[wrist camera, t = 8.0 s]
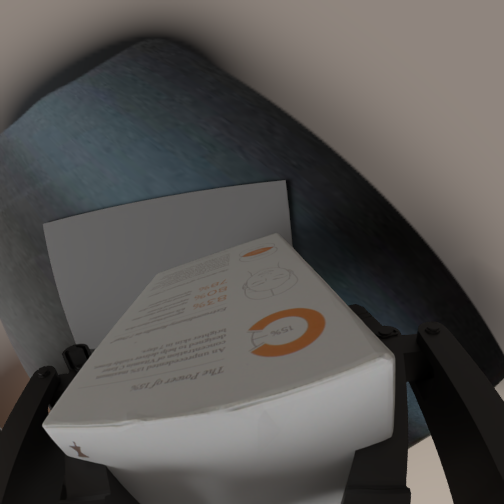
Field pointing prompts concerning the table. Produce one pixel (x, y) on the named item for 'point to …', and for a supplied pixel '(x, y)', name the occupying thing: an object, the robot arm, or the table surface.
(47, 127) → the table surface
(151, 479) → the small box
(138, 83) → the table surface
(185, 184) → the table surface
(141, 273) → the mat
